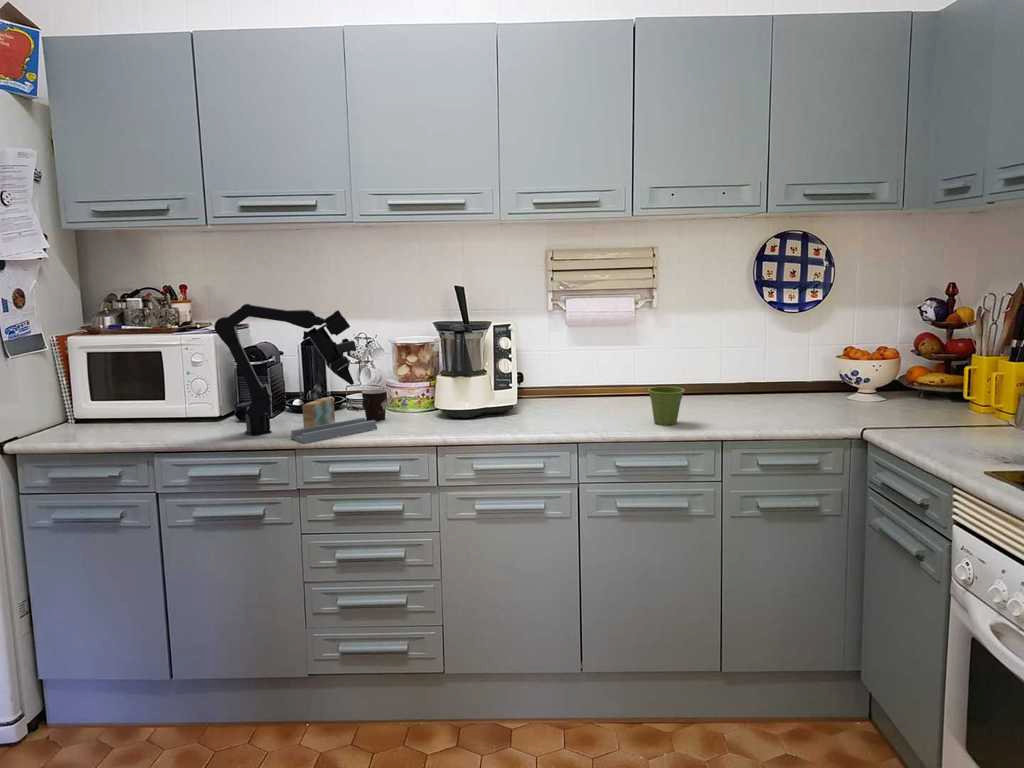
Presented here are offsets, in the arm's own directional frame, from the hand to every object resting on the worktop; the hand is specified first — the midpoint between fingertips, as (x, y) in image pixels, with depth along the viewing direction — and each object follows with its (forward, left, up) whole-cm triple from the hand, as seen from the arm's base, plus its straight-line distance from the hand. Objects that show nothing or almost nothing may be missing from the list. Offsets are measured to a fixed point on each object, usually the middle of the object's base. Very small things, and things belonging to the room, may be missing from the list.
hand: (351, 382), depth 257 cm
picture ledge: (-11, -6, -15) cm, 19 cm away
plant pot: (+70, -76, -15) cm, 105 cm away
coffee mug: (+9, +3, -15) cm, 18 cm away
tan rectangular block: (-9, +7, -15) cm, 18 cm away
